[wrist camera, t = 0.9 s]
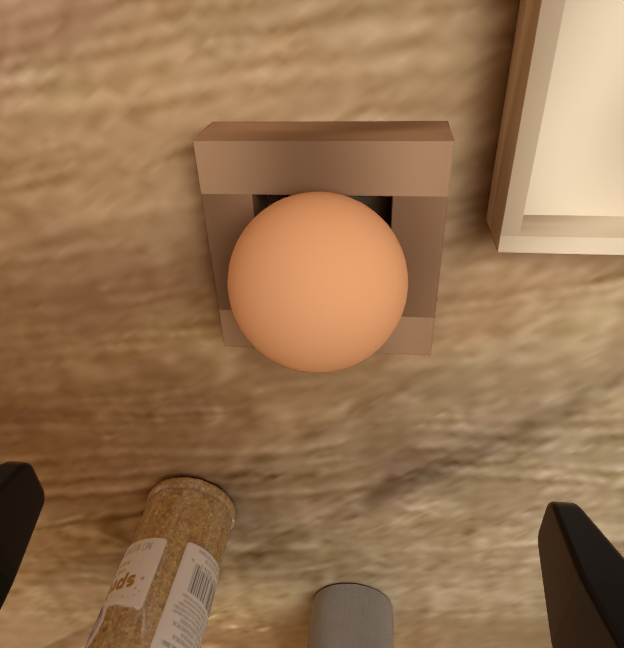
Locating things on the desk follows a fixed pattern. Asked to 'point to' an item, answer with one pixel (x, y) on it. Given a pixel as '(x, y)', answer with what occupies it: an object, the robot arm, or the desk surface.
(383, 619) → the grey hollow cylinder
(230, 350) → the desk surface
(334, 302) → the ball
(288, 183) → the brown flat square frame
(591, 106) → the tray
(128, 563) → the sprinkles bottle
